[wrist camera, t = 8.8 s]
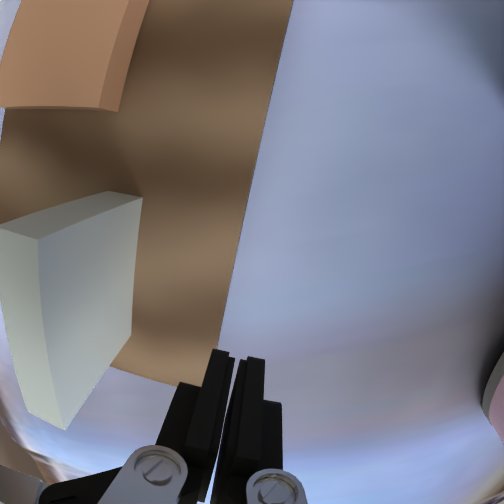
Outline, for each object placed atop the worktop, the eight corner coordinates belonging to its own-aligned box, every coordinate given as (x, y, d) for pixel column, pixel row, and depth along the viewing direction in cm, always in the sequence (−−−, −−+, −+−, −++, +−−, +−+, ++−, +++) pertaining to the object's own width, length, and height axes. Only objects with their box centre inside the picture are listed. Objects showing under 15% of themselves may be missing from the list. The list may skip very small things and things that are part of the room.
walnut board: (62, -34, 11) (55, -39, 10) (303, -41, 11) (305, -50, 10) (13, 316, 19) (5, 321, 18) (209, 384, 19) (207, 394, 18)
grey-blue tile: (105, 190, 15) (-9, 225, 7) (142, 197, 15) (37, 239, 7) (99, 324, 17) (25, 410, 10) (131, 335, 17) (65, 430, 10)
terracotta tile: (159, -23, 11) (48, -7, 11) (146, -42, 9) (29, -18, 9) (119, 112, 14) (14, 109, 14) (98, 107, 12) (-10, 107, 12)
